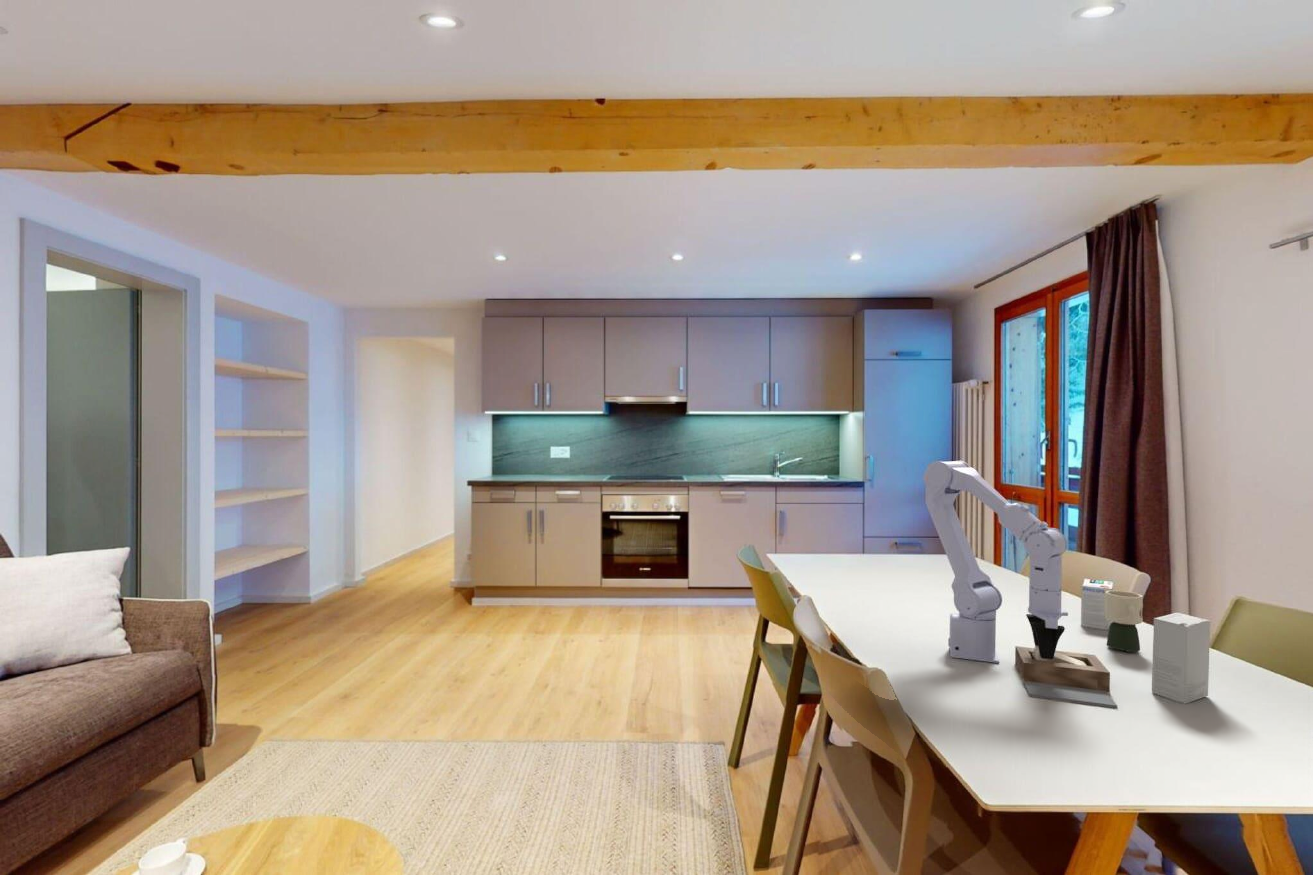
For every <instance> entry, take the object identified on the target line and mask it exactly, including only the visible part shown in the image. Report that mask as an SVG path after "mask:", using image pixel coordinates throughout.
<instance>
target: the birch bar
mask: <svg viewBox="0 0 1313 875" xmlns="http://www.w3.org/2000/svg"><path fill="white" fill-rule="evenodd" d="M1033 648H1034V651H1033V655H1034V657H1035V659H1036V660H1041V661H1050V662H1059V663H1067V664H1076V665H1084V666H1087V665H1086V664H1085V663H1084V662H1083V661H1080V660H1077V659H1074V658H1072V657H1069V656H1066V655H1063V654H1060V653H1057V652H1055V654H1054V657H1053V659H1045V658H1041V656H1040V653H1039V647H1038V646H1037V645H1035V644H1034V647H1033Z"/></svg>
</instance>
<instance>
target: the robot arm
mask: <svg viewBox="0 0 1313 875" xmlns="http://www.w3.org/2000/svg"><path fill="white" fill-rule="evenodd" d="M922 479H923V483H924V484H925V504H926V507H927V510H928V513H929V514H930V518H931V520H932V522H933V524H934V525H933V526H934V528H935V530H936V532H937V534H938V538H939V540H940V542H941V545H942V547H943V550H944V553H945V554H946V557H947V559H948V562H949V564H950V567H951V569H952V570H951V571H952V572H953V574H954V579H953V581H952V583H951V589H952V592H953V603H954V607H955V609H956V610H957V611H958V613H950V615H949V637H948V640H947V641H948V642H947V644H948V649H949V652H950V658H954V659H955V658H957V659H961V660H962V659H963V660H970V661H971V660H972V661H979V662H989V663H995V664H996V663H1000V659H999V657H998V654H997V651H996V638H997V637H996V628H997V627H996V626H997V624H996V621H997V611H998V610H999V609H1000V608H1001V607H1002V604H1003V603H1002V602H1003V596H1002V594H1001V591H1000V590H999V589H998V587H997V586H995V585H994V583H993V582H992V579H991V577H990V576H989V575H988V574H986V573H985V572H984V571H983V570H981V569H980V566H979V563H978V560H977V559H976V557H975V555H974V552H973V550H972V547H971V545H970V543H969V539H968V538H967V535H966V532H965V530H964V528H963V526H962V523H961V521H960V518H959V517H958V513H957V511H956V509H955V507H954V502H955V500H956V499H957V497H958V495H959V494H960V493H961V492H962V491H963V492H968V493H969V494H971V495H972V496H974V497H975V498H977V499H978V501H980V502H982V504H984V505H985V506H987V507H988V509H990V510H992V511H993V512H994V513H995V514H997V518H998V523H999V524H1000V525H1001V526H1003V527H1004V528H1005V529H1006V530H1007V531H1008V532H1009V533H1010V534H1011V535H1013V536H1014V537H1015V538H1016V539H1018V541H1020V542H1021V543H1023V547H1024V550H1025V552H1026V553H1027V555H1028V556H1029V576H1028V578H1029V580H1028V581H1029V584H1028V585H1029V586H1028V587H1029V588H1028V592H1029V593H1028V607H1027V612H1028V613H1026V615H1025V616H1026V619H1027V620H1028V622H1029V624H1030V625H1029V626H1030V628H1031V632H1032V636H1033V642H1034V646H1035V645H1037V646H1038V647H1039V653H1040V656H1041V658H1045V659H1053V657H1054V654H1055V651H1057V650H1056V649H1057V645H1058V642H1059V640H1060V639H1061V636H1062V635H1063V633H1064V632H1065V627H1064V625H1059V624H1058V623H1059V620H1060V619H1061V618H1062V616H1063V617H1068V616H1069V612H1068V611H1067V610H1066V609H1065V610H1063V609H1062V587H1063V586H1062V584H1063V583H1062V580H1063V577H1062V576H1063V566H1062V564H1063V554H1064V553H1065V552H1066V551H1067V549H1068V540H1067V538H1066V536H1065V535H1064V533H1063V532H1062V531H1061V530H1060V529H1058V528H1054V527H1049V524H1048V523H1047V522H1046V521H1041V520H1040V519H1038V517H1036V516H1035V515H1034V514H1033V513H1031V512H1030V508H1029V507H1028V505H1026V504H1022V505H1021V504H1020V503H1017V502H1016V503H1010V502H1009V501H1008V500H1007V499H1006V498H1004V496H1003V495H1001V493H999V491H998V490H996V489H995V488H994V487H993V486H992V485H991V484H989V483H988V481H986V480H985V479H984V478H983V477H982V476H981V475H980V474H979V473H978V471H977V470H976V469H975V468H973V467H971V466H970V465H969V463H967V462H965V461H963V460H955V461H954V460H953V461H940V460H934V461H932V462H930V464H928V466H927V468H926V469H925V471H924V474H923V475H922Z"/></svg>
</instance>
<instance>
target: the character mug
mask: <svg viewBox="0 0 1313 875" xmlns="http://www.w3.org/2000/svg"><path fill="white" fill-rule="evenodd" d="M1143 600H1144V597H1143V595H1142V594H1139V593H1136V592H1132V591H1124V590H1114V589H1113V590H1112V591H1106V592H1105V618H1106V619H1107V620H1110V621H1112V623H1111V624H1110V626H1109V630H1108V633H1107V639H1106V646H1107V647H1109V648H1111V649H1116V650H1117V649H1118V650H1121V651H1123V652H1124V653H1127V651H1130V652H1135V653H1136V652H1140V651H1141V644H1140V638H1139V631H1138V628H1137V626H1136V625H1139V624H1142V623H1143V621H1144V619H1143V617H1144V616H1143V609H1144V603H1143Z"/></svg>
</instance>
